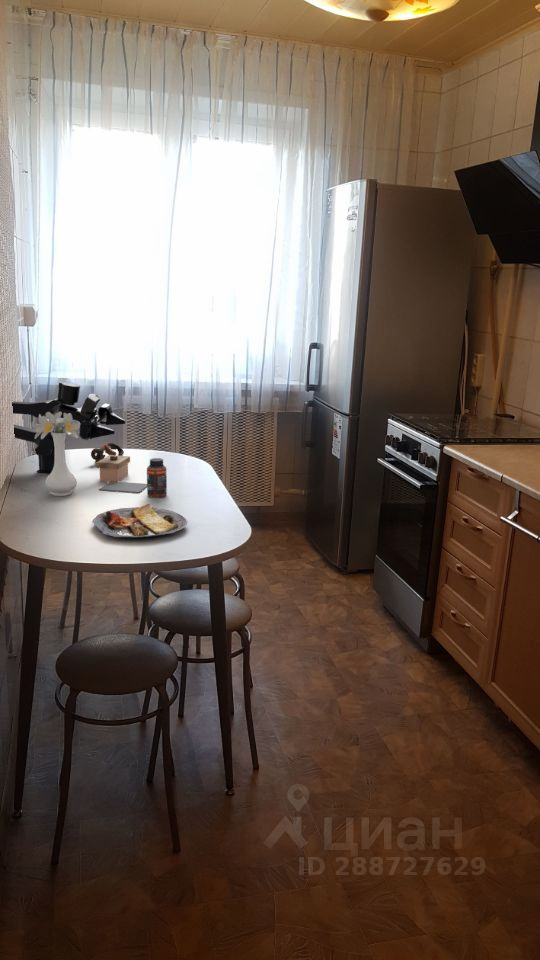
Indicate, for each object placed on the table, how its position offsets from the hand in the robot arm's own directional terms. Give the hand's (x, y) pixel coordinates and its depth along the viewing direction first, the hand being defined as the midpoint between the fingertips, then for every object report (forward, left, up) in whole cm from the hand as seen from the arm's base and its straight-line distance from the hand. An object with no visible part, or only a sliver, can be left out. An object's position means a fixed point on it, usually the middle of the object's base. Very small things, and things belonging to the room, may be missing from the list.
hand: (119, 427), depth 252 cm
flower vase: (-10, -25, -17) cm, 32 cm away
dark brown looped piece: (-11, +17, -17) cm, 26 cm away
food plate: (+24, -51, -17) cm, 58 cm away
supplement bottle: (+19, -20, -17) cm, 32 cm away
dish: (-1, -3, -17) cm, 17 cm away
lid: (-1, -3, -12) cm, 12 cm away
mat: (+6, -14, -17) cm, 22 cm away
